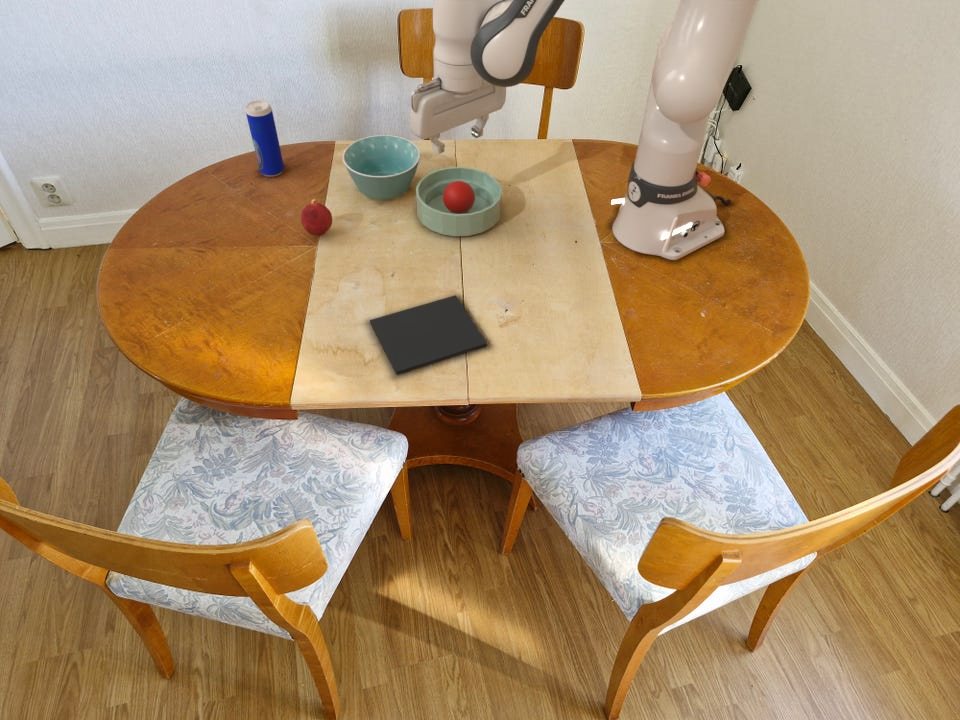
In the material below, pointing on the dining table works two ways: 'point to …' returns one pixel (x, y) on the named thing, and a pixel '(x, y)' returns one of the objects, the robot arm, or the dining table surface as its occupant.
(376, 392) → the dining table surface
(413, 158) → the bowl
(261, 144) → the beverage can
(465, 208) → the red ball
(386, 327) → the mat
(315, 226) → the onion
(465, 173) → the fruit bowl
